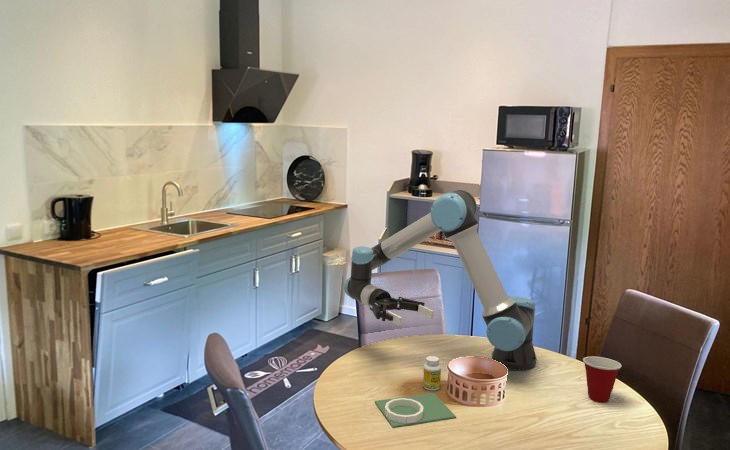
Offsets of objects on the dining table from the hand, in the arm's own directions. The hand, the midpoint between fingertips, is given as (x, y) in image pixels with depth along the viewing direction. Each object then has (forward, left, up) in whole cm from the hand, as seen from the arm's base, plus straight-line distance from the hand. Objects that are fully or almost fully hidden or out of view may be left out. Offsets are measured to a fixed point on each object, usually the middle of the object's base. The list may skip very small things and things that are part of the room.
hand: (417, 318), depth 183 cm
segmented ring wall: (+13, +22, -20) cm, 32 cm away
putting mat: (+9, +20, -20) cm, 30 cm away
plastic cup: (-48, +29, -20) cm, 60 cm away
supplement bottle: (-2, +8, -20) cm, 22 cm away
